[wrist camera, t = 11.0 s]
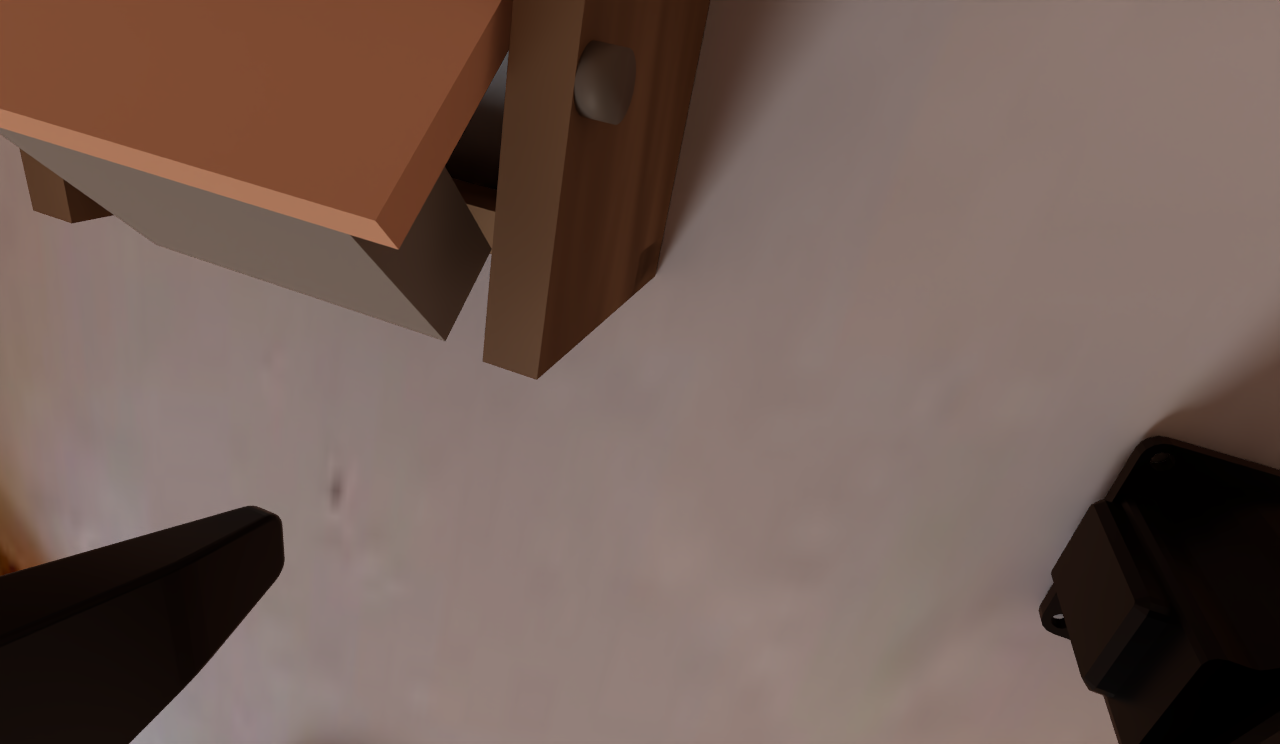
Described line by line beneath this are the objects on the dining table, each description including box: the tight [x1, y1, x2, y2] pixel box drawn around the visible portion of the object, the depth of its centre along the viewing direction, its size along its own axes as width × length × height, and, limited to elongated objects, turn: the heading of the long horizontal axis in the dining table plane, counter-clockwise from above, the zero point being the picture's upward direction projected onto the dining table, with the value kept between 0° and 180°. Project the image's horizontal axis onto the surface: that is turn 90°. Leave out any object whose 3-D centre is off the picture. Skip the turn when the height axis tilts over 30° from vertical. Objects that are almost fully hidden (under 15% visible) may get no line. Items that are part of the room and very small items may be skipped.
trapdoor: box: [0, 0, 513, 341], centre depth 15 cm, size 10×11×5 cm
